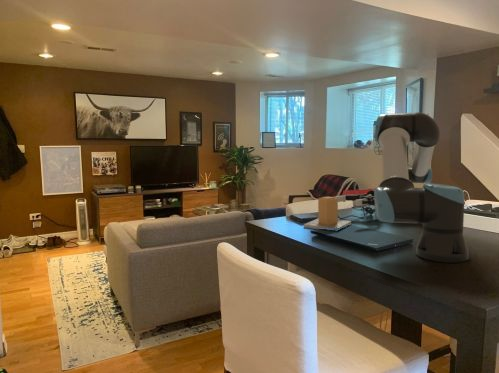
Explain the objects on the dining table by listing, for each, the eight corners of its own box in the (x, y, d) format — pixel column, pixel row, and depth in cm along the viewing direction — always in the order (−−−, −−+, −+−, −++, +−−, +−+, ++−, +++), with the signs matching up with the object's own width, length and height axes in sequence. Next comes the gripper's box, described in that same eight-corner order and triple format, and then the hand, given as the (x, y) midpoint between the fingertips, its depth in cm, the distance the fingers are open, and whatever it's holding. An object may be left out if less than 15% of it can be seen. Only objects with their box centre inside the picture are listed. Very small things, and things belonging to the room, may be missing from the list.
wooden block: (337, 222, 164) (337, 197, 163) (327, 224, 161) (327, 198, 160) (328, 220, 169) (328, 196, 168) (318, 222, 166) (318, 197, 165)
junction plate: (338, 231, 154) (338, 221, 154) (303, 227, 164) (303, 217, 163) (351, 224, 167) (351, 214, 167) (319, 220, 176) (319, 211, 176)
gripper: (398, 207, 169) (366, 213, 158) (358, 201, 190) (326, 205, 180) (399, 191, 168) (366, 195, 157) (358, 187, 189) (326, 190, 179)
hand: (345, 201), depth 169 cm, fingers open, 13 cm apart
